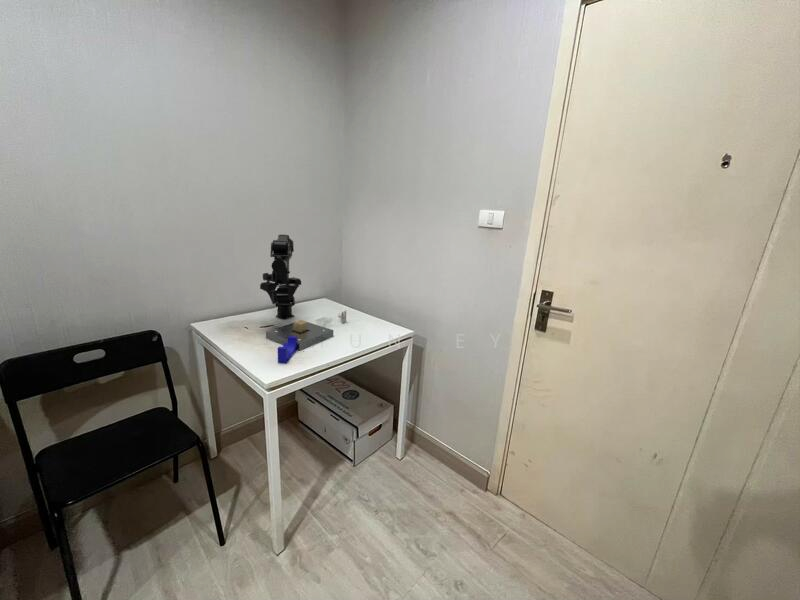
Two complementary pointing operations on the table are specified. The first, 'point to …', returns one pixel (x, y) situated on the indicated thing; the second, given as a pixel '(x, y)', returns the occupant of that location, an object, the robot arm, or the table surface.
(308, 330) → the grey square mounting plate
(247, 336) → the table surface
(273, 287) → the robot arm
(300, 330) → the tan wooden block
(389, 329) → the table surface
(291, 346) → the blue u-shaped bracket
